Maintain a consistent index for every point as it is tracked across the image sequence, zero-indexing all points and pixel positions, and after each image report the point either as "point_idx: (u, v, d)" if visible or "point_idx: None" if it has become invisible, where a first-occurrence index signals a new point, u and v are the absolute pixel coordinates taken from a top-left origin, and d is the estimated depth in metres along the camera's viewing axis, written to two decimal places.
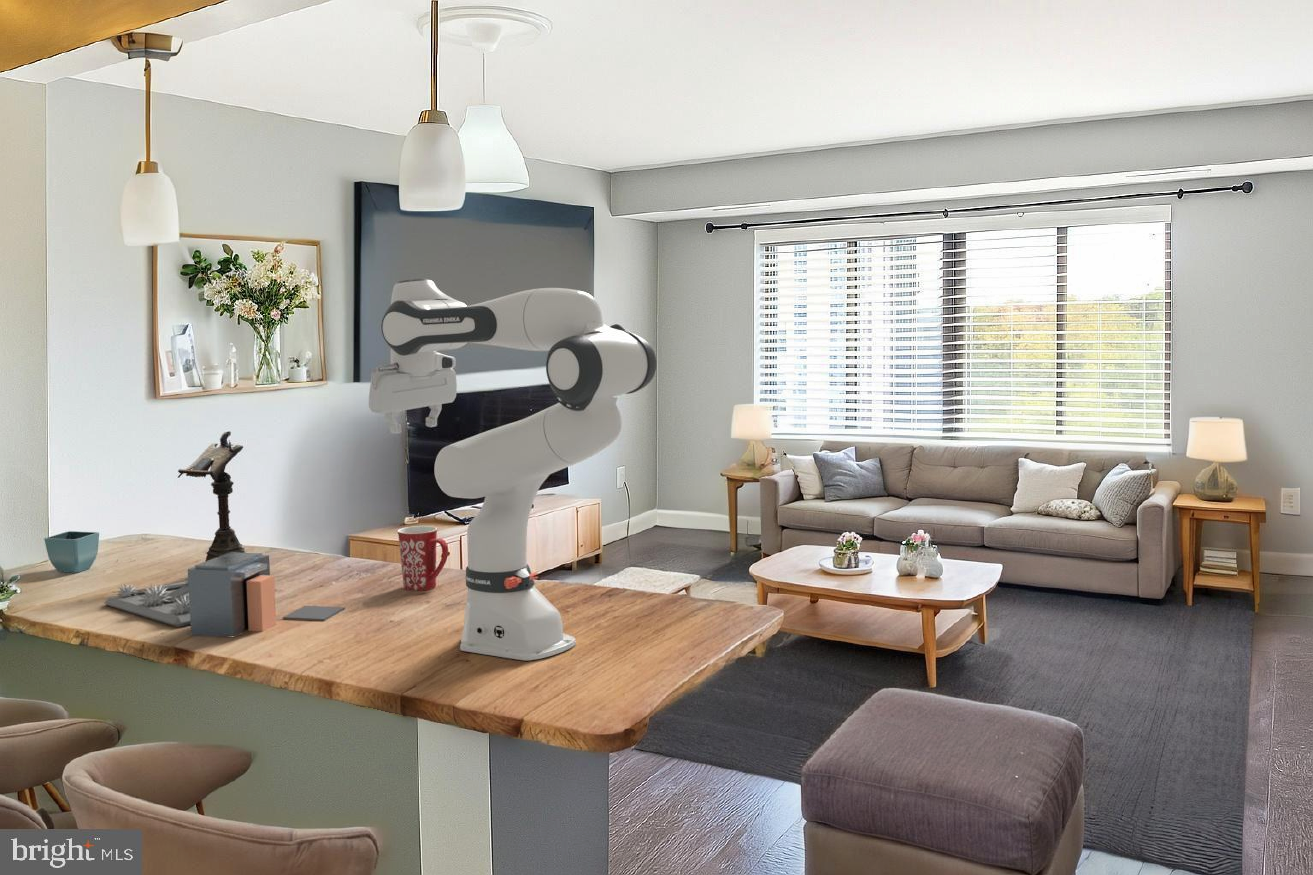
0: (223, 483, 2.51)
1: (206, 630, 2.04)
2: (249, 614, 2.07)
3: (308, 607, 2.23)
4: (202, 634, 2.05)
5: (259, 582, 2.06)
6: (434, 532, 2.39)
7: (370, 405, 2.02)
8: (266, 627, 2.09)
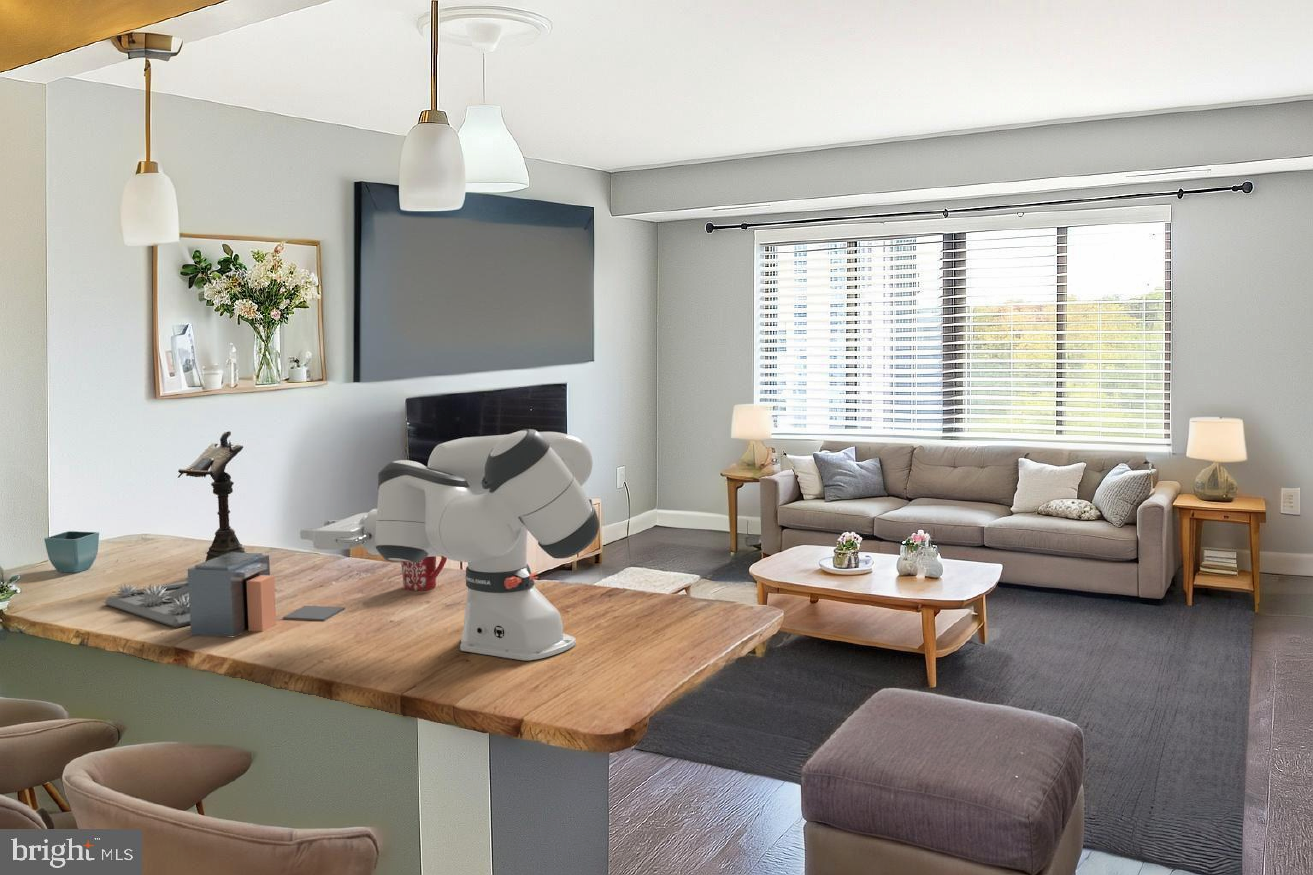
0: (223, 483, 2.51)
1: (206, 630, 2.04)
2: (249, 614, 2.07)
3: (308, 607, 2.23)
4: (202, 634, 2.05)
5: (259, 582, 2.06)
6: None
7: (318, 534, 1.95)
8: (266, 627, 2.09)
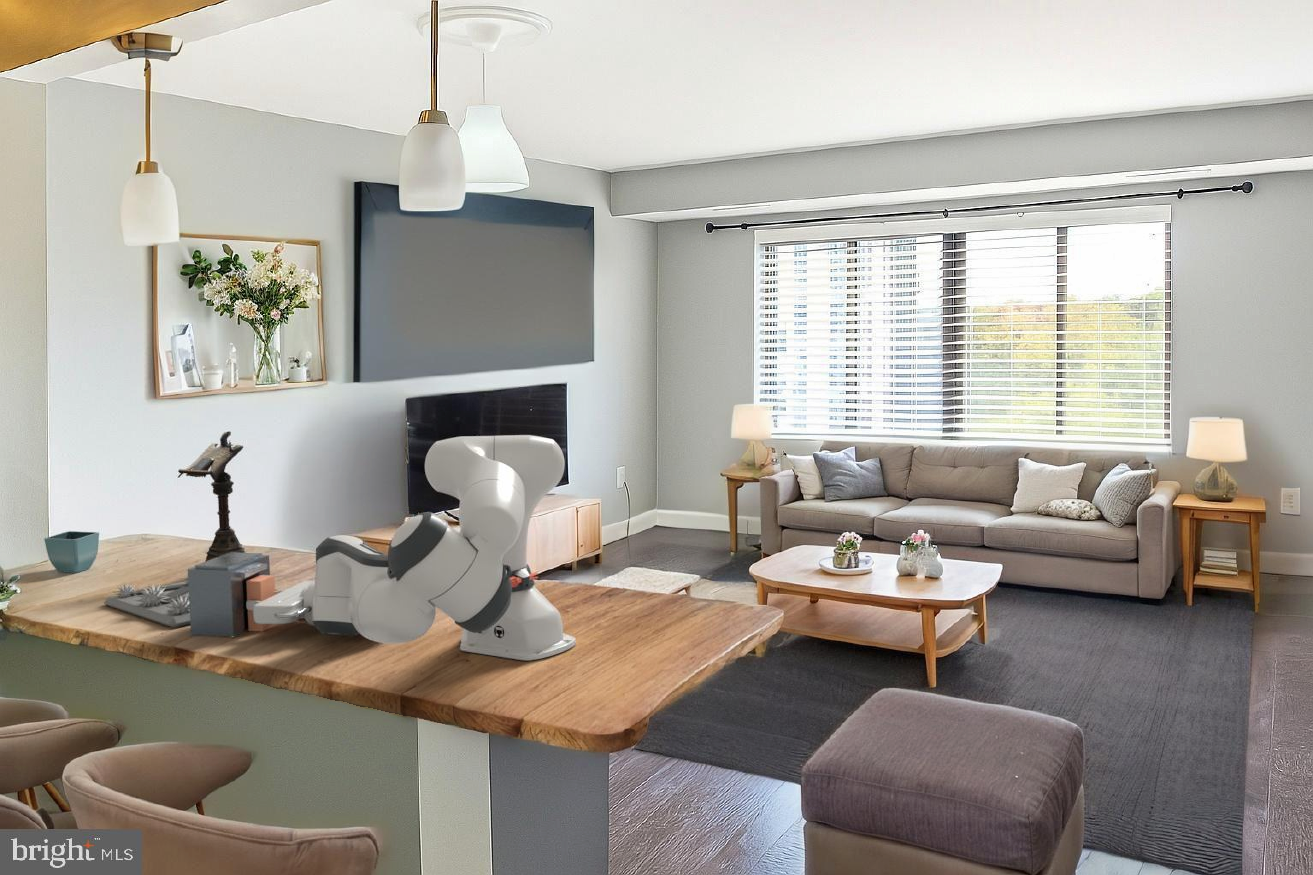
0: (223, 483, 2.51)
1: (206, 630, 2.04)
2: (249, 614, 2.07)
3: None
4: (202, 634, 2.05)
5: (259, 582, 2.06)
6: None
7: (257, 609, 1.99)
8: (266, 627, 2.09)
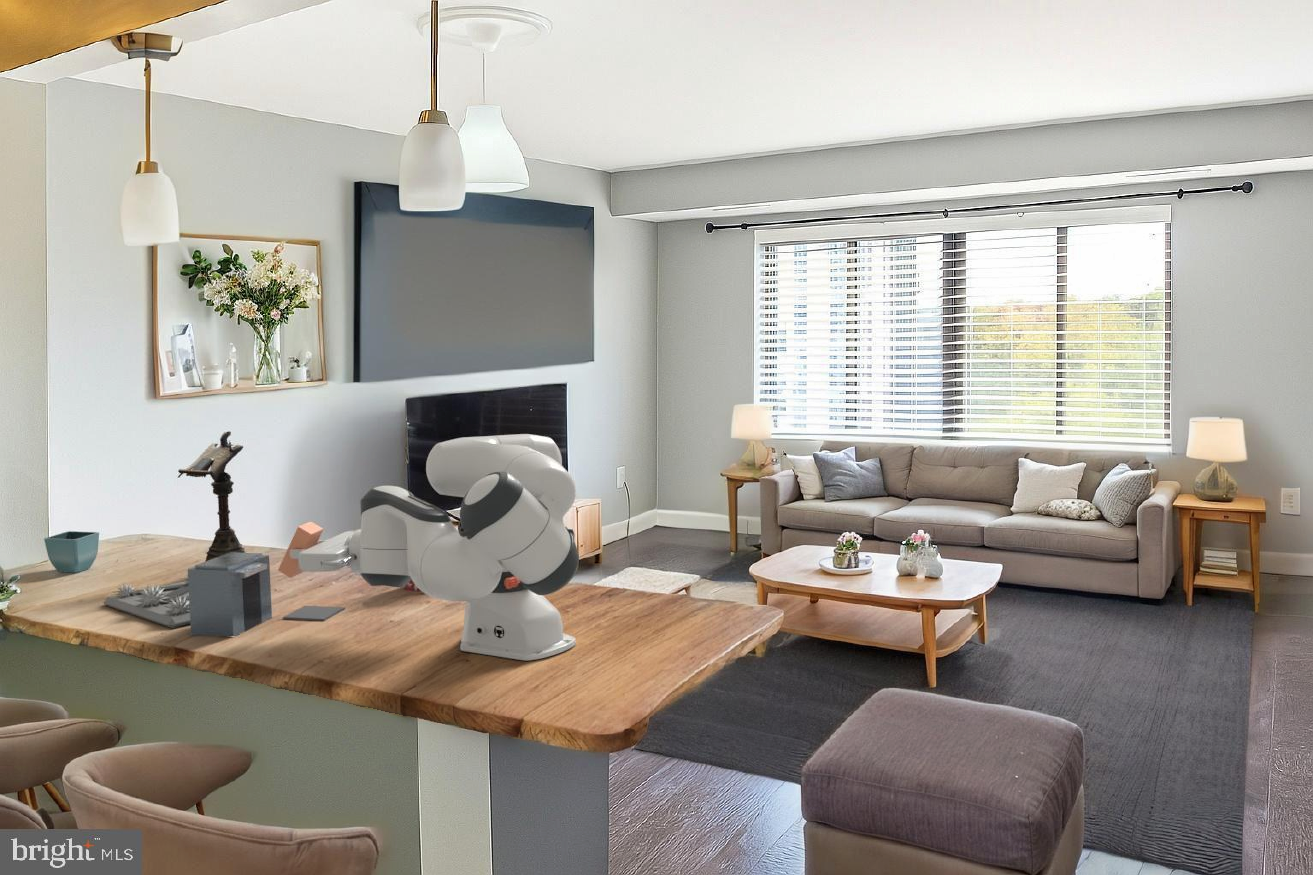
0: (223, 483, 2.51)
1: (206, 630, 2.04)
2: (285, 556, 2.05)
3: (308, 607, 2.23)
4: (202, 634, 2.05)
5: (309, 534, 2.03)
6: None
7: (303, 557, 1.96)
8: (295, 574, 2.06)
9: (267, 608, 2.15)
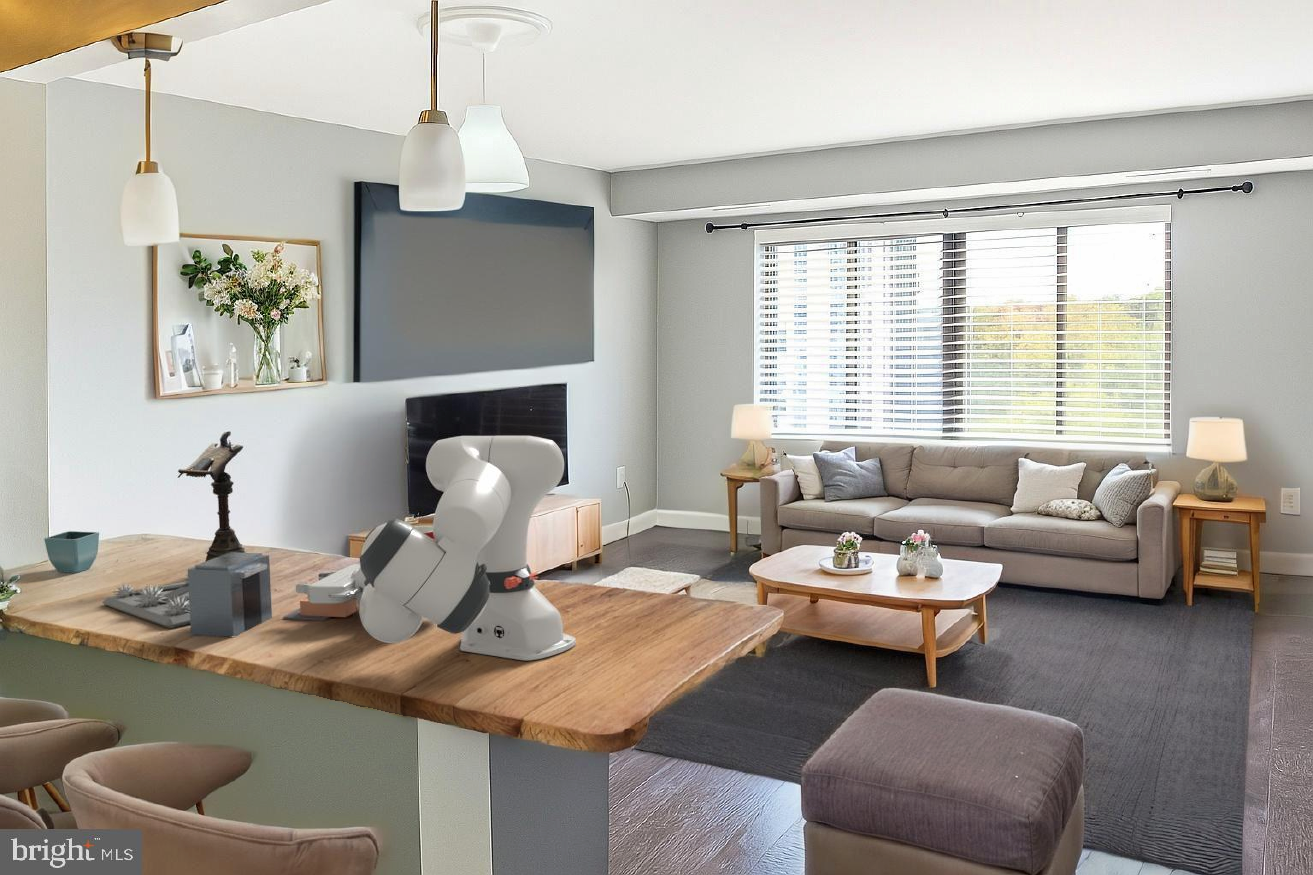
0: (223, 483, 2.51)
1: (206, 630, 2.04)
2: None
3: None
4: (202, 634, 2.05)
5: (344, 615, 2.16)
6: None
7: (312, 590, 2.08)
8: None
9: (267, 608, 2.15)
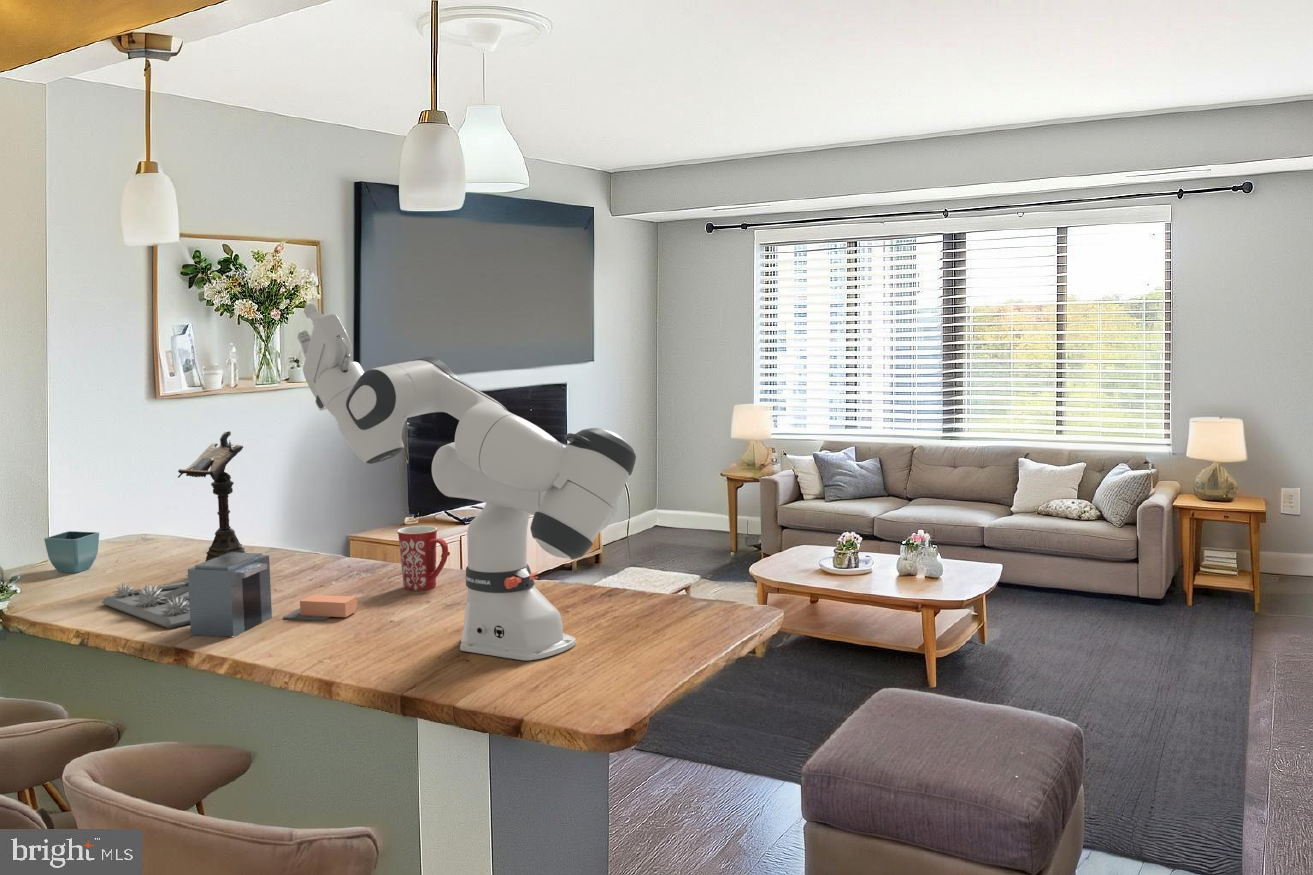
0: (223, 483, 2.51)
1: (206, 630, 2.04)
2: (314, 603, 2.16)
3: None
4: (202, 634, 2.05)
5: (344, 615, 2.16)
6: (434, 532, 2.39)
7: (334, 317, 1.81)
8: None
9: (267, 608, 2.15)
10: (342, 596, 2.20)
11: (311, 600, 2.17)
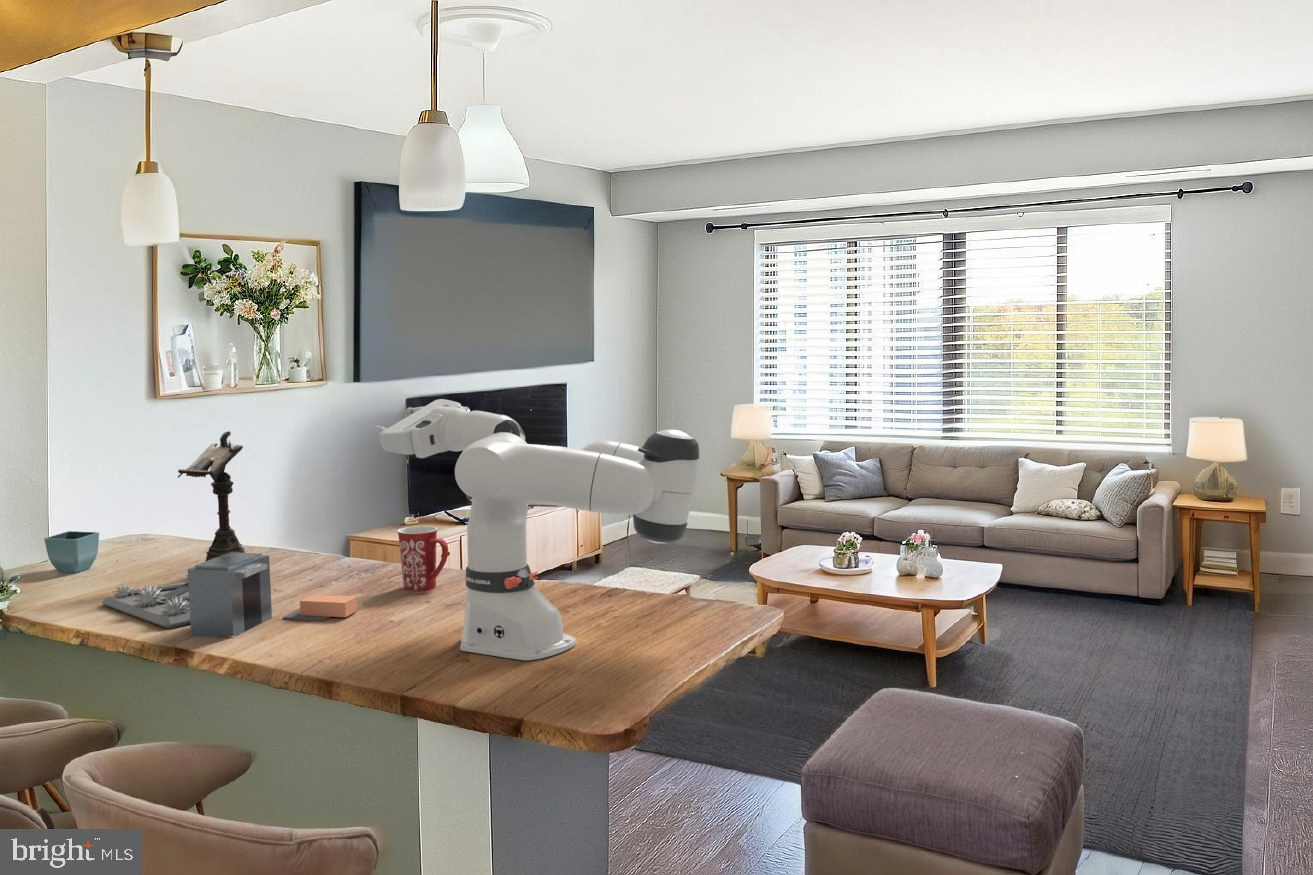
0: (223, 483, 2.51)
1: (206, 630, 2.04)
2: (314, 603, 2.16)
3: None
4: (202, 634, 2.05)
5: (344, 615, 2.16)
6: (434, 532, 2.39)
7: None
8: None
9: (267, 608, 2.15)
10: (342, 596, 2.20)
11: (311, 600, 2.17)
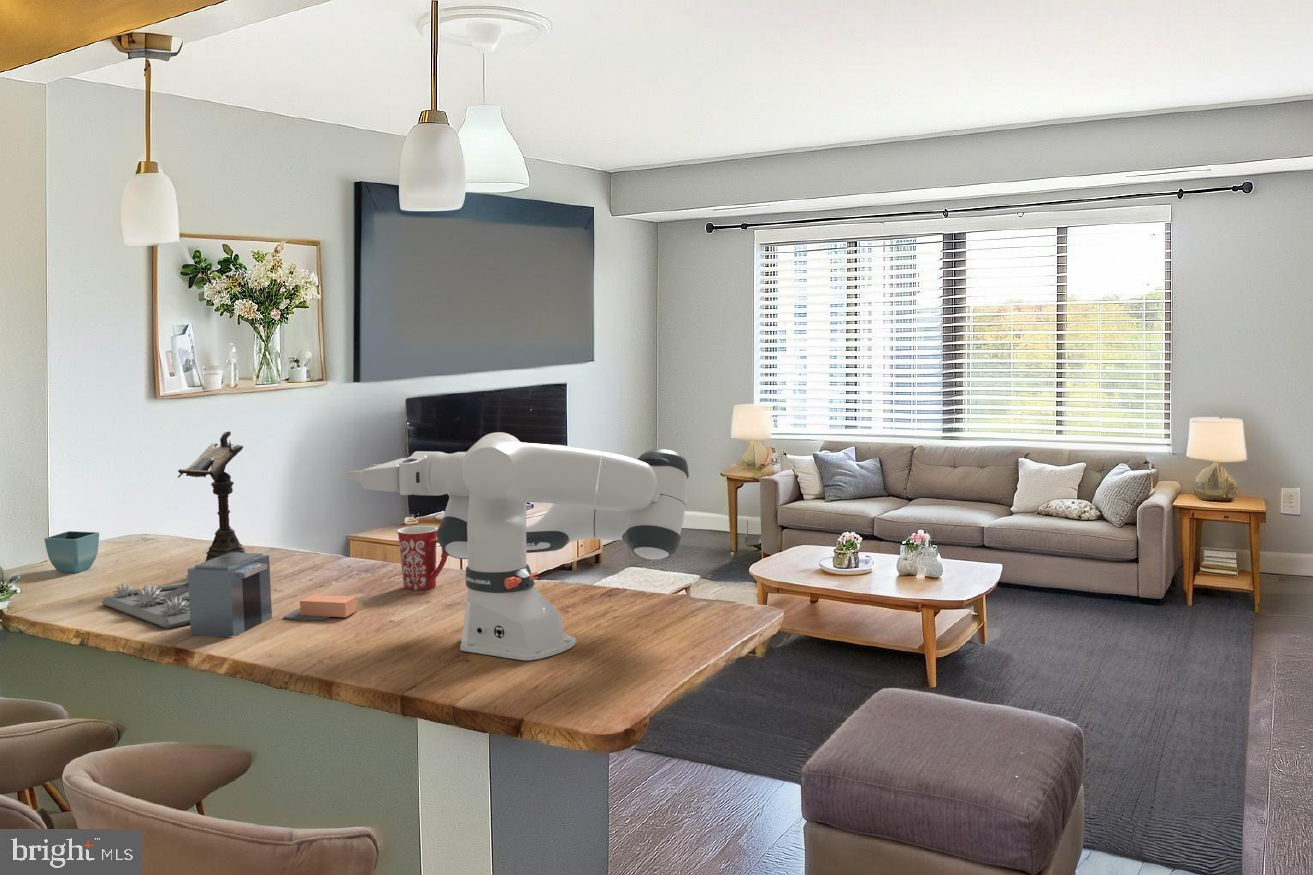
0: (223, 483, 2.51)
1: (206, 630, 2.04)
2: (314, 603, 2.16)
3: None
4: (202, 634, 2.05)
5: (344, 615, 2.16)
6: (434, 532, 2.39)
7: None
8: None
9: (267, 608, 2.15)
10: (342, 596, 2.20)
11: (311, 600, 2.17)
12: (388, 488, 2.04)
